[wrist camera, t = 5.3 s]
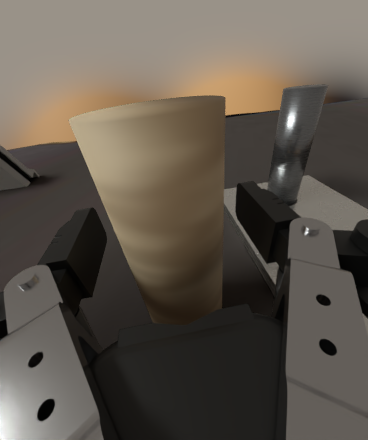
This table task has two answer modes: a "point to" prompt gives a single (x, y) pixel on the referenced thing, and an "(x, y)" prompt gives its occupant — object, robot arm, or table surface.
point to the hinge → (13, 172)
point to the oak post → (163, 197)
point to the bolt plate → (307, 209)
